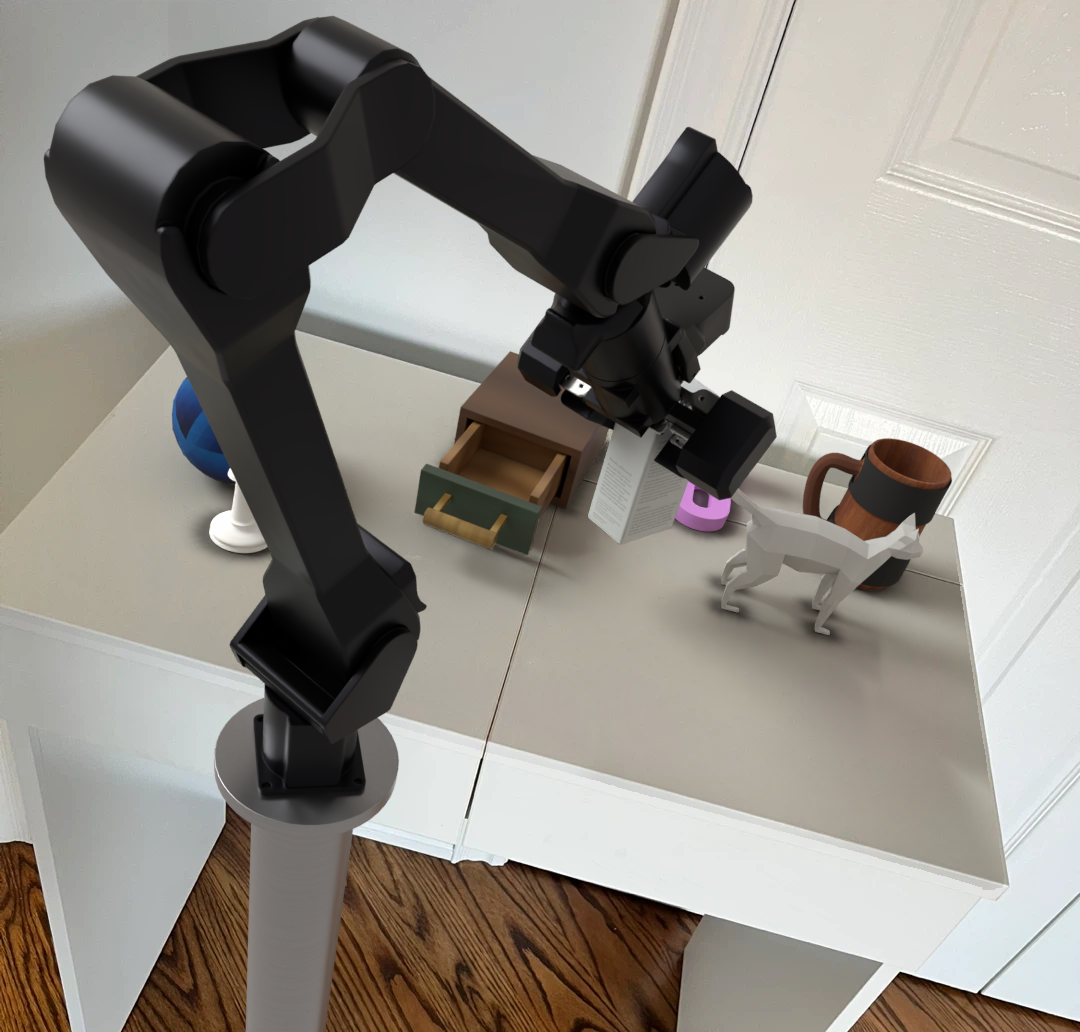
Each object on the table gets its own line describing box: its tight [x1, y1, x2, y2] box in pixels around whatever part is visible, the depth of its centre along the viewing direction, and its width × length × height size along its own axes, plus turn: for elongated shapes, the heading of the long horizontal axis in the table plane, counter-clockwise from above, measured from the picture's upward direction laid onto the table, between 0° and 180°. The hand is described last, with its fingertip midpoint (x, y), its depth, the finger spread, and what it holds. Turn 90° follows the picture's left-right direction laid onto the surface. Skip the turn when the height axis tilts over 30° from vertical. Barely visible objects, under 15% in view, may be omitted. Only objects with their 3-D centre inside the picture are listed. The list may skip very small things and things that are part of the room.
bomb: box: [171, 376, 236, 485], centre depth 81 cm, size 10×11×15 cm
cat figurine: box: [720, 487, 924, 636], centre depth 84 cm, size 4×20×14 cm, turn 83°
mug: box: [802, 437, 953, 592], centre depth 93 cm, size 9×12×12 cm
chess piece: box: [209, 468, 268, 554], centre depth 77 cm, size 5×5×10 cm
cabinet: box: [453, 350, 610, 510], centre depth 96 cm, size 14×12×6 cm
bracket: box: [674, 481, 732, 532], centre depth 98 cm, size 13×6×7 cm, turn 169°
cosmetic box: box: [587, 377, 719, 546], centre depth 77 cm, size 6×4×12 cm
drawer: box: [414, 420, 570, 556], centre depth 87 cm, size 17×10×4 cm, turn 162°
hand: (662, 448), depth 78 cm, fingers closed on cosmetic box, 4 cm apart
